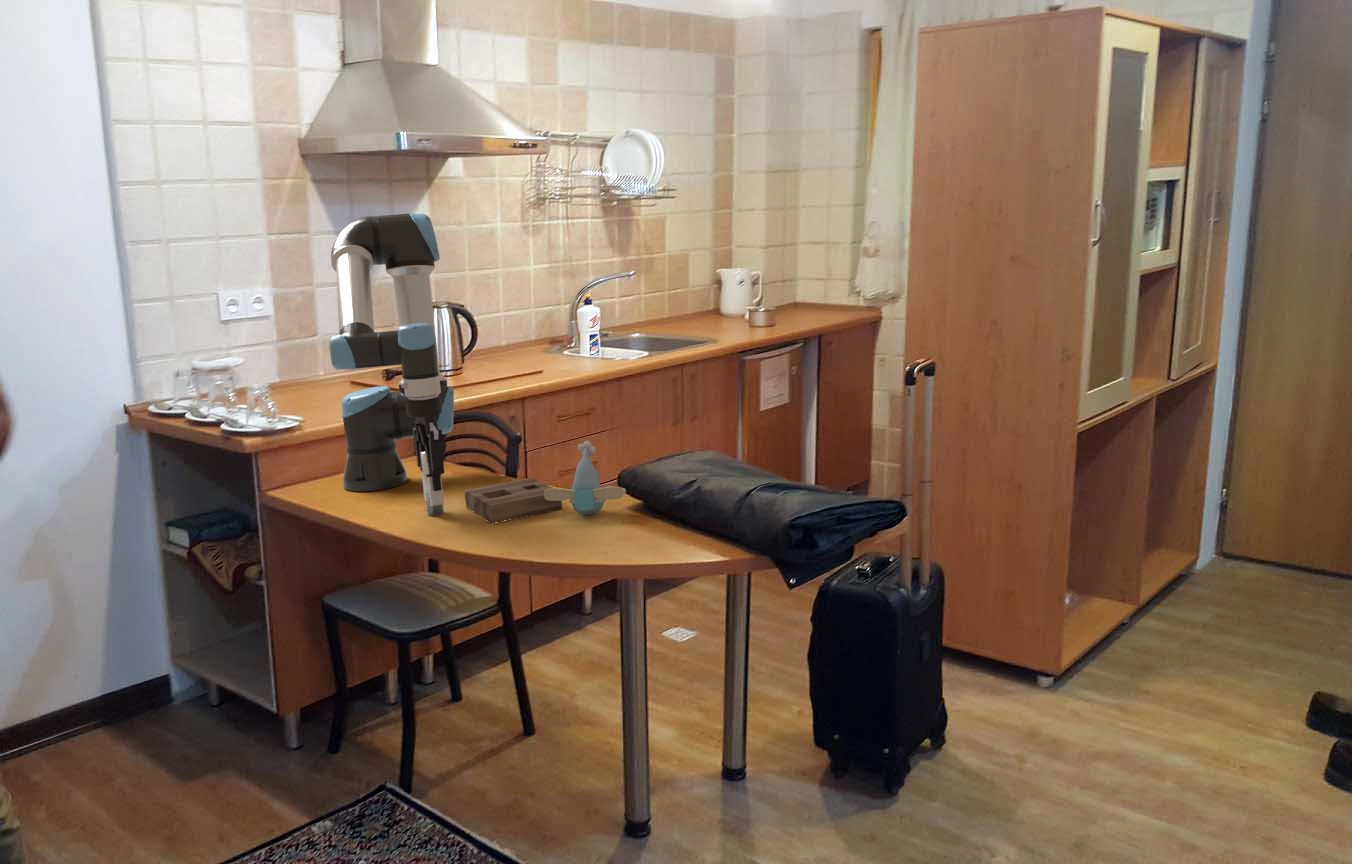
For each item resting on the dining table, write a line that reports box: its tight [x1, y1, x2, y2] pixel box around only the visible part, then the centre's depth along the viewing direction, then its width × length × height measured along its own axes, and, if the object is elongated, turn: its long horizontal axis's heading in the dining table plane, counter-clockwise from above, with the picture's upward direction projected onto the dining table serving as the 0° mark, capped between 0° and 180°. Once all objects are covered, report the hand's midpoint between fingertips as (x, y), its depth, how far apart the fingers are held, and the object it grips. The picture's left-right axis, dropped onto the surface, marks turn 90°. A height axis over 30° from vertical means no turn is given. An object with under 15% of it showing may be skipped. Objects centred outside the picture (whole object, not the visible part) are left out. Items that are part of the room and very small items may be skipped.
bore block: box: [464, 477, 563, 524], centre depth 241 cm, size 16×16×4 cm
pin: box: [420, 450, 445, 517], centre depth 240 cm, size 4×4×14 cm
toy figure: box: [544, 440, 627, 516], centre depth 233 cm, size 17×10×15 cm, turn 84°
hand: (434, 502), depth 241 cm, fingers closed on pin, 3 cm apart
